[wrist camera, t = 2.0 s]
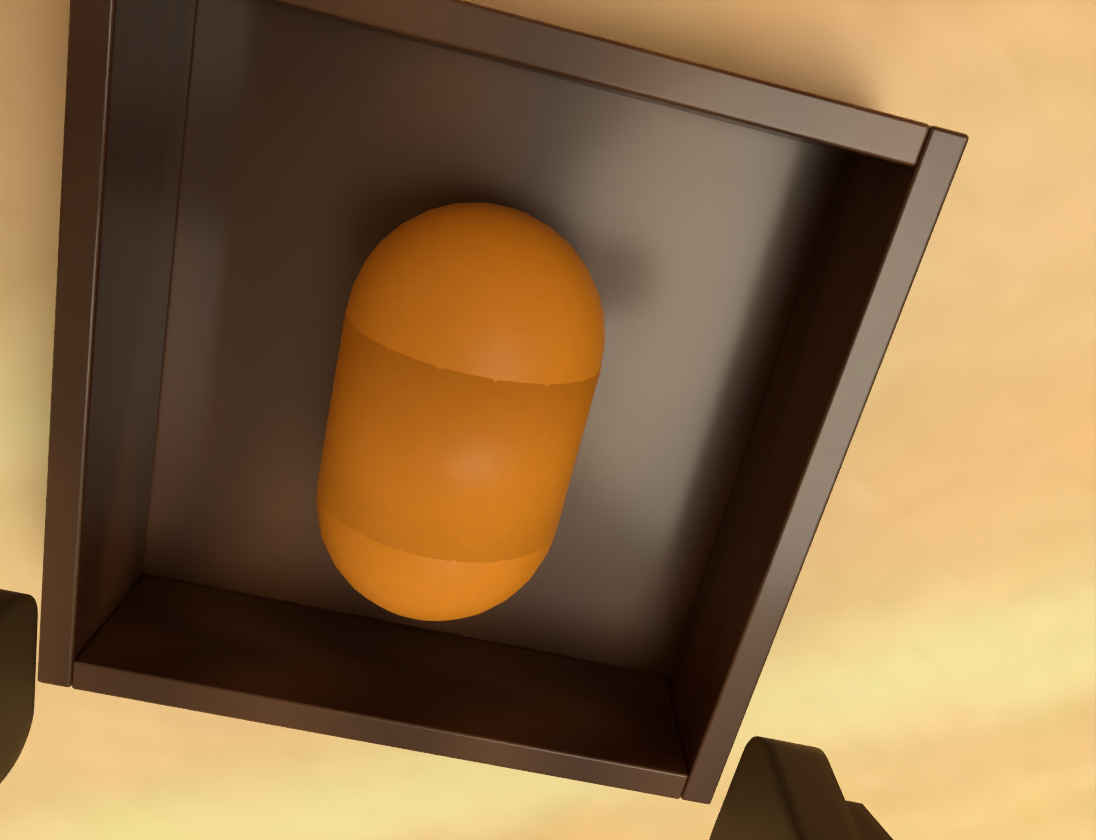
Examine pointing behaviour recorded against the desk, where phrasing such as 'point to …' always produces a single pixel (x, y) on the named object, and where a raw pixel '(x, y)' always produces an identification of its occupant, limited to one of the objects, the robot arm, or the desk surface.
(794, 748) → the robot arm
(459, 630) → the wooden tray
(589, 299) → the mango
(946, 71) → the desk surface
